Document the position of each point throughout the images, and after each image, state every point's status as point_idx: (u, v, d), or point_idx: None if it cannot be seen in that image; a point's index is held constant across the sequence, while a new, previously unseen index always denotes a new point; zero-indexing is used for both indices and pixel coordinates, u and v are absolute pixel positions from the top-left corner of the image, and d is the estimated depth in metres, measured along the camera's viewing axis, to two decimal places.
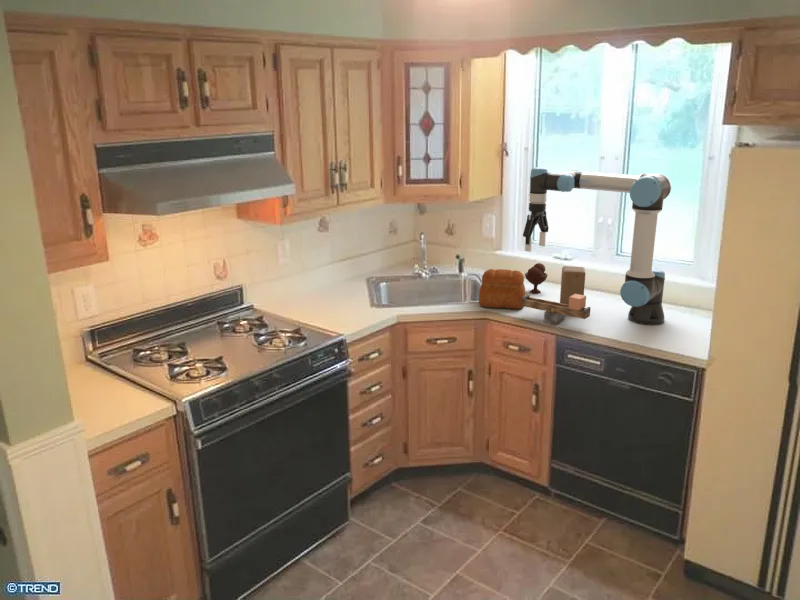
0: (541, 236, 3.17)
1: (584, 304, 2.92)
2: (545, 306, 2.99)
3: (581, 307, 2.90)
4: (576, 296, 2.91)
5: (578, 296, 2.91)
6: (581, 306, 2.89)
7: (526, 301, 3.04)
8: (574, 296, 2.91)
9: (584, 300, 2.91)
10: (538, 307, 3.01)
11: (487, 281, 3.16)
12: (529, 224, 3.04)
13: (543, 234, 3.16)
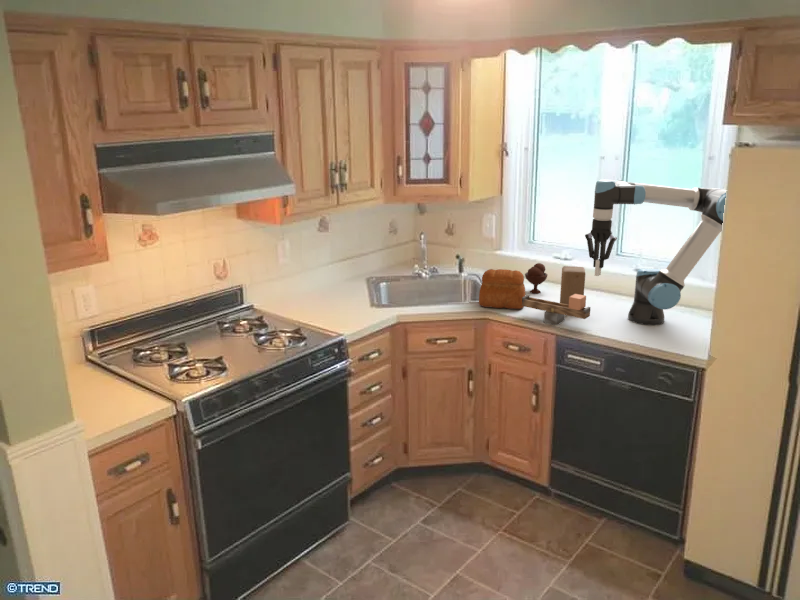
0: None
1: (584, 304, 2.92)
2: (545, 306, 2.99)
3: (581, 307, 2.90)
4: (576, 296, 2.91)
5: (578, 296, 2.91)
6: (581, 306, 2.89)
7: (526, 301, 3.04)
8: (574, 296, 2.91)
9: (584, 300, 2.91)
10: (538, 307, 3.01)
11: (487, 281, 3.16)
12: None
13: None
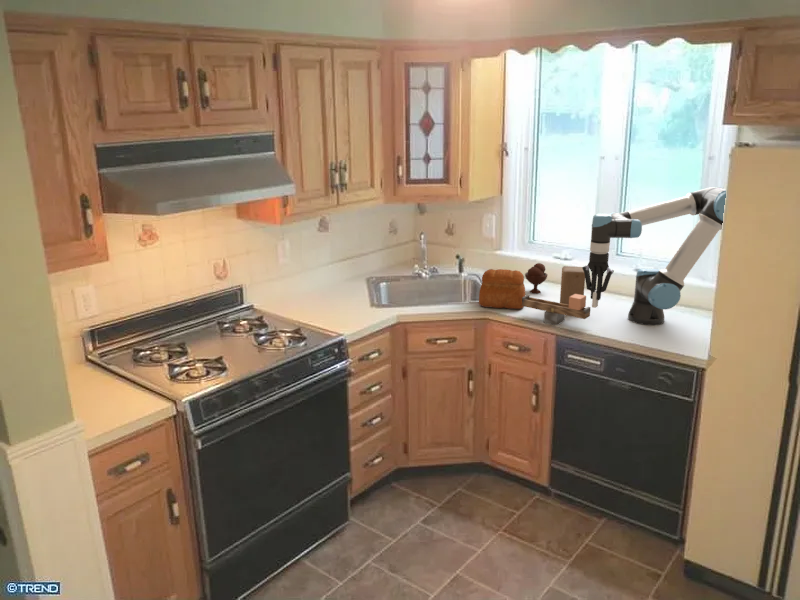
0: None
1: (584, 304, 2.92)
2: (545, 306, 2.99)
3: (581, 307, 2.90)
4: (576, 296, 2.91)
5: (578, 296, 2.91)
6: (581, 306, 2.89)
7: (526, 301, 3.04)
8: (574, 296, 2.91)
9: (584, 300, 2.91)
10: (538, 307, 3.01)
11: (487, 281, 3.16)
12: None
13: None
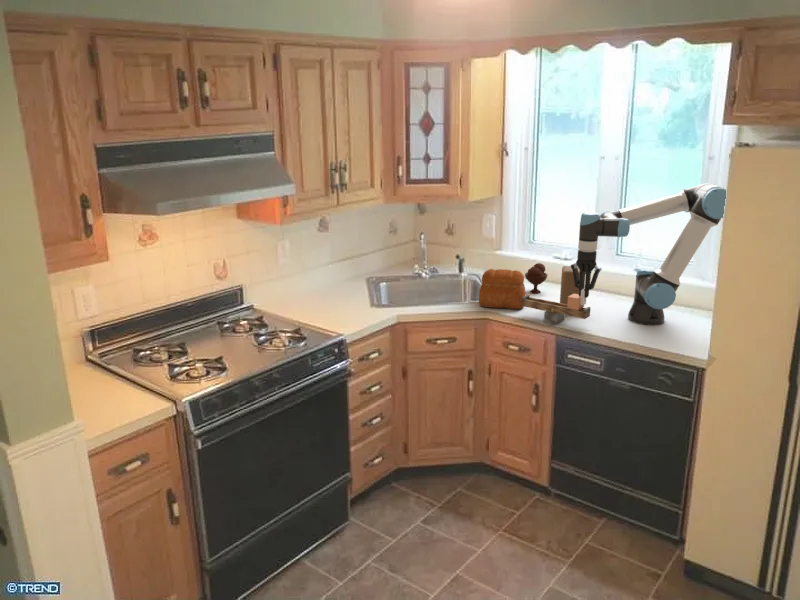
0: None
1: None
2: (545, 306, 2.99)
3: (580, 307, 2.90)
4: (575, 296, 2.91)
5: (577, 296, 2.91)
6: (579, 306, 2.90)
7: (526, 301, 3.04)
8: (573, 296, 2.91)
9: None
10: (538, 307, 3.01)
11: (487, 281, 3.16)
12: None
13: None
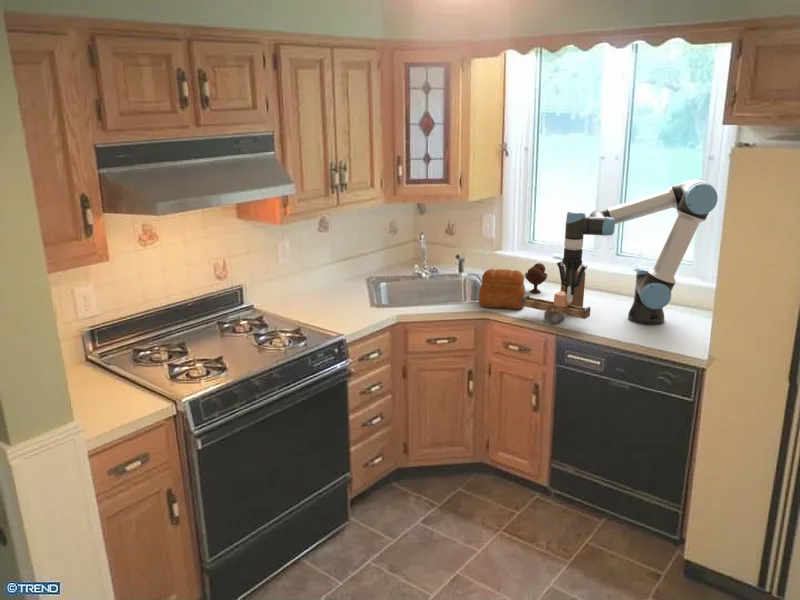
0: None
1: None
2: (545, 306, 2.99)
3: (566, 304, 2.94)
4: (561, 293, 2.95)
5: (563, 293, 2.95)
6: (566, 303, 2.93)
7: (526, 301, 3.04)
8: (559, 293, 2.95)
9: None
10: (538, 307, 3.01)
11: (487, 281, 3.16)
12: None
13: None
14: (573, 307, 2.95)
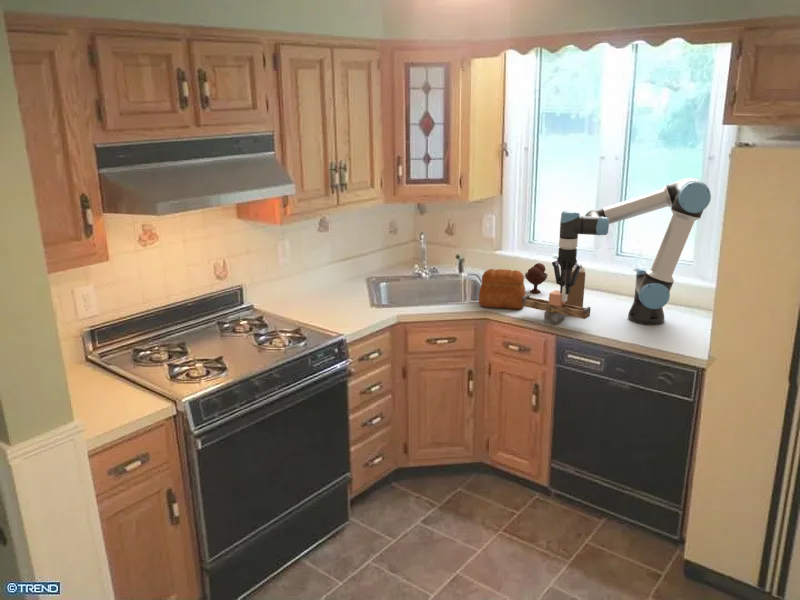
0: None
1: None
2: (545, 306, 2.99)
3: (561, 303, 2.95)
4: (556, 292, 2.96)
5: (558, 292, 2.96)
6: (561, 302, 2.95)
7: (526, 301, 3.04)
8: (554, 292, 2.96)
9: None
10: (538, 307, 3.01)
11: (487, 281, 3.16)
12: None
13: None
14: (573, 307, 2.95)
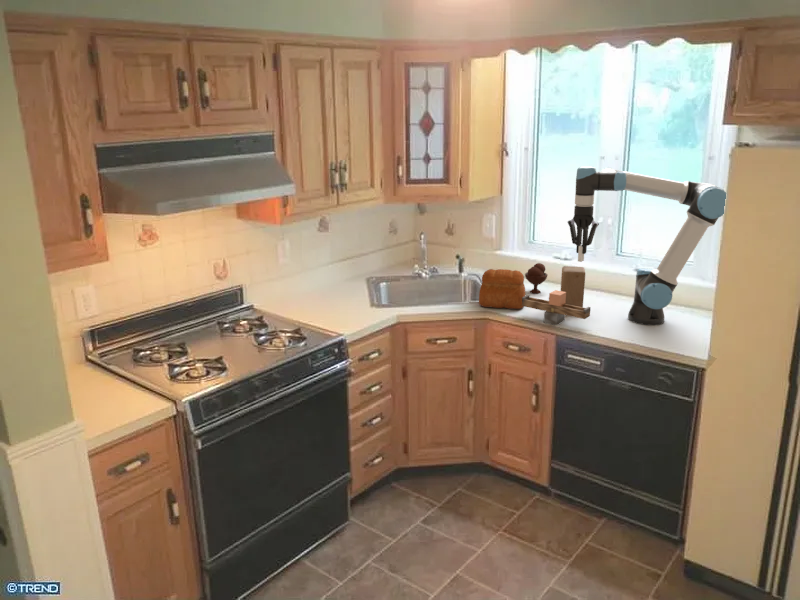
0: None
1: (564, 300, 2.97)
2: (545, 306, 2.99)
3: (561, 303, 2.95)
4: (556, 292, 2.96)
5: (558, 292, 2.96)
6: (561, 302, 2.95)
7: (526, 301, 3.04)
8: (554, 292, 2.96)
9: (564, 296, 2.96)
10: (538, 307, 3.01)
11: (487, 281, 3.16)
12: None
13: None
14: (573, 307, 2.95)
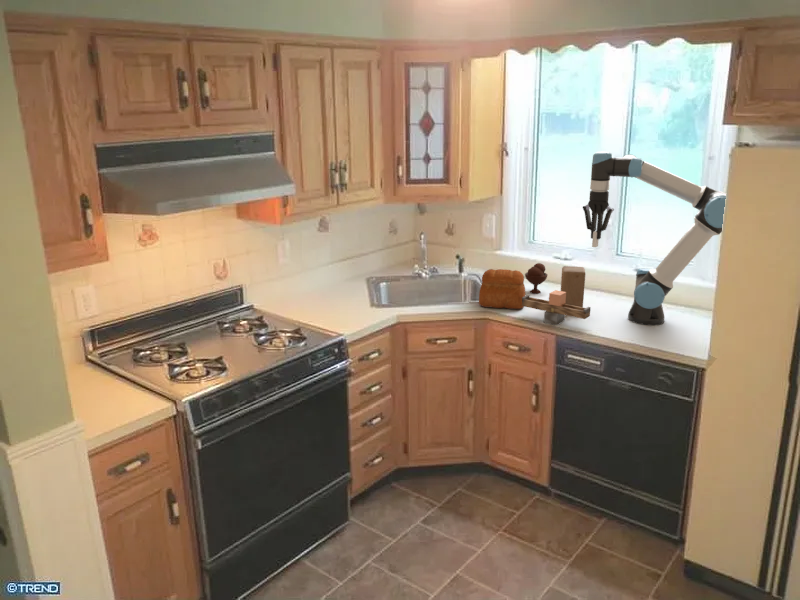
0: None
1: (564, 300, 2.97)
2: (545, 306, 2.99)
3: (561, 303, 2.95)
4: (556, 292, 2.96)
5: (558, 292, 2.96)
6: (561, 302, 2.95)
7: (526, 301, 3.04)
8: (554, 292, 2.96)
9: (564, 296, 2.96)
10: (538, 307, 3.01)
11: (487, 281, 3.16)
12: None
13: None
14: (573, 307, 2.95)
